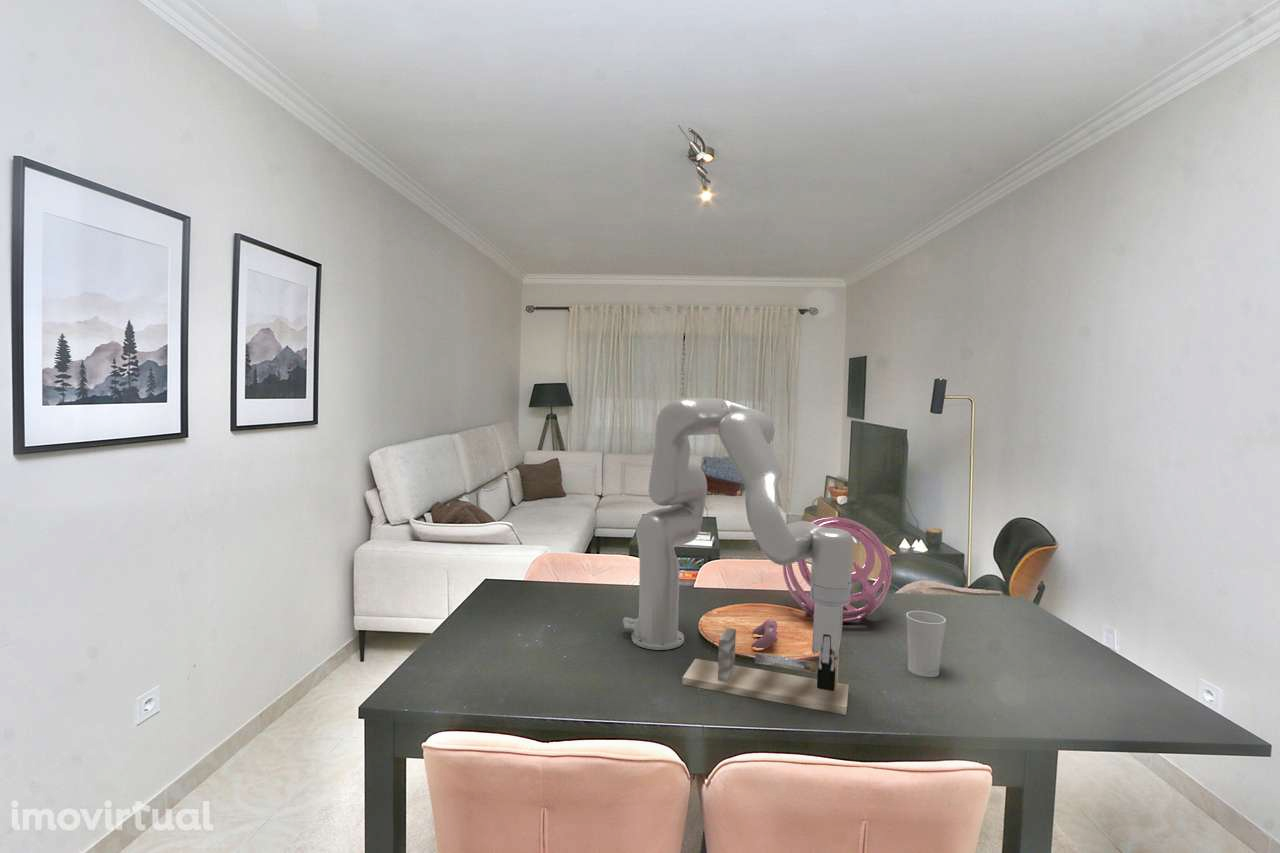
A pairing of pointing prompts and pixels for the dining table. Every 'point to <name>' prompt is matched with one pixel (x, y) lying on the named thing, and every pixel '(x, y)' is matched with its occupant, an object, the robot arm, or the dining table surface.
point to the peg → (794, 663)
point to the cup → (924, 642)
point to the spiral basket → (857, 576)
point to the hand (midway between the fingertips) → (826, 682)
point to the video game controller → (766, 634)
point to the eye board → (762, 681)
